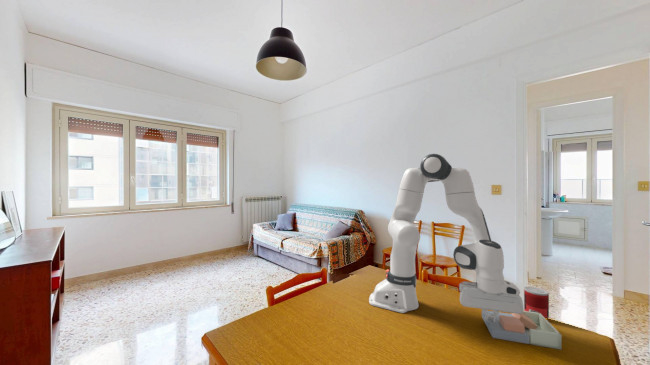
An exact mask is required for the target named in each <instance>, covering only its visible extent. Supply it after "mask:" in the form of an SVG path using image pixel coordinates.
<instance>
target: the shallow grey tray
mask: <svg viewBox="0 0 650 365" xmlns="http://www.w3.org/2000/svg"><path fill="white" fill-rule="evenodd" d="M493 312H494V311H493V310H487V312H486V314H488V315H492V314H493ZM499 315H503V316H510V317H513V315H512V313H508V312H501V311H499V314H498V315H497V317H496V318H495V322H492V321H486V320H485V314H484V312H483V311H482V310H481V318H482V320H483V322H484V325H485V326H486V327H487V329H488V332H489V334H490V335H491V337H492V338H493V339H497V340H498V339H499V340H504V341H508V342H509V341H510V342H515V343H522V344H527V345H529V344H530V343H529V334H528V333H527V332H526V331H525V333H520V332H514V331H508V330H504V328H503V327H502V325H501V323H500V322H499Z"/></svg>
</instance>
